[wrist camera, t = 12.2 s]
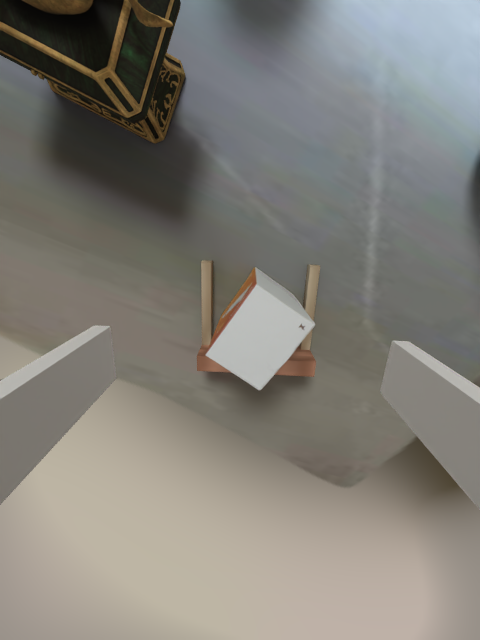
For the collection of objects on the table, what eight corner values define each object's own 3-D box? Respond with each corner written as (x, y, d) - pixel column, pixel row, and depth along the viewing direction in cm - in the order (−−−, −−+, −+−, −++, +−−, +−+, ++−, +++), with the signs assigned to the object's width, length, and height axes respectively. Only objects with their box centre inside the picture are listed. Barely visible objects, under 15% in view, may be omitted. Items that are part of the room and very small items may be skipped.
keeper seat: (203, 353, 37) (197, 370, 33) (203, 260, 34) (195, 263, 29) (305, 358, 37) (314, 376, 32) (317, 264, 33) (328, 269, 28)
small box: (254, 265, 34) (256, 281, 21) (294, 293, 34) (318, 324, 22) (219, 315, 36) (203, 356, 23) (257, 340, 37) (261, 393, 24)
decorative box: (31, 90, 29) (-375, -186, 10) (51, -17, 26) (-453, -665, 7) (198, 176, 31) (118, 77, 12) (233, 84, 28) (200, -229, 9)
